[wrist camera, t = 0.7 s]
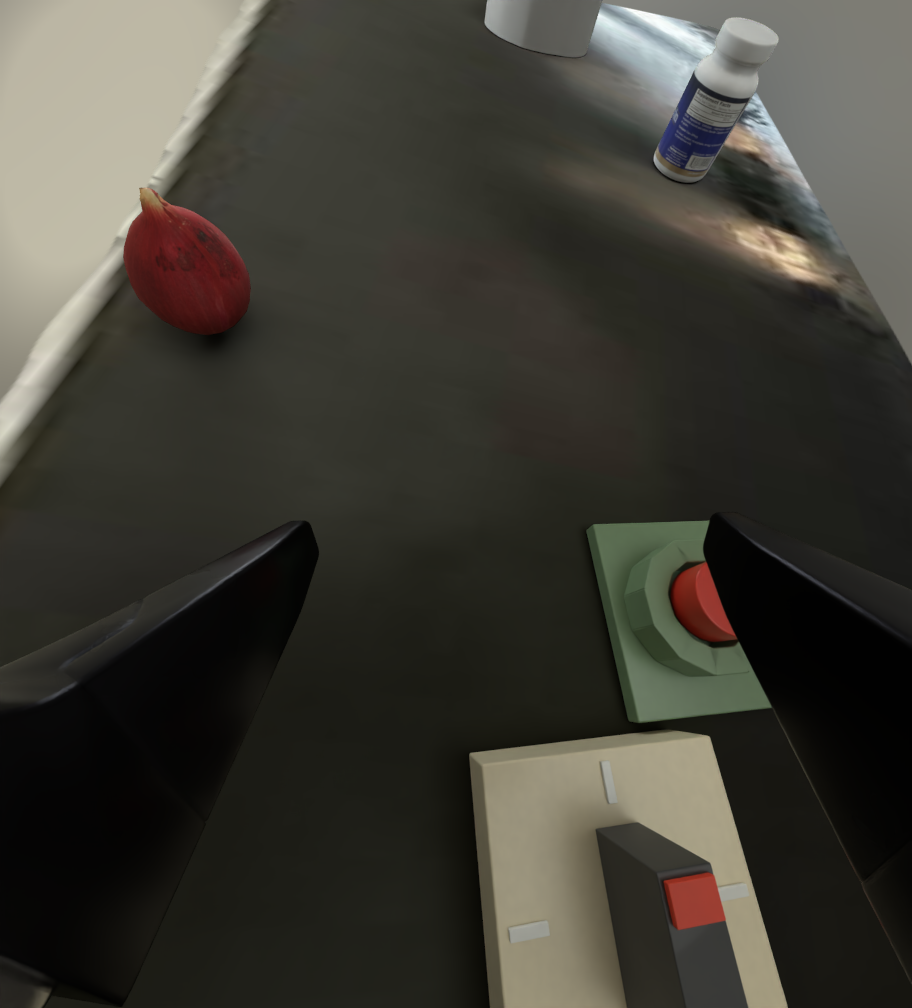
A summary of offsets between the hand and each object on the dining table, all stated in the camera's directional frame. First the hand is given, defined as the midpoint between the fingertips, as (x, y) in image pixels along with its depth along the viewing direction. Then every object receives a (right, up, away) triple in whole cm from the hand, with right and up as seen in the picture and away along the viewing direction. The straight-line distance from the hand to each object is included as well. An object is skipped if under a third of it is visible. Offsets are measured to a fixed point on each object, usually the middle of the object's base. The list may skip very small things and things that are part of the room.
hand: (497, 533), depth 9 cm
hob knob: (+5, -14, +5) cm, 16 cm away
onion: (-16, +12, +17) cm, 26 cm away
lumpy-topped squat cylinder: (+9, +60, +42) cm, 74 cm away
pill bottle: (+22, +36, +33) cm, 54 cm away
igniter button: (+11, -4, +11) cm, 16 cm away
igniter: (+11, -5, +13) cm, 18 cm away
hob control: (+5, -15, +8) cm, 18 cm away
